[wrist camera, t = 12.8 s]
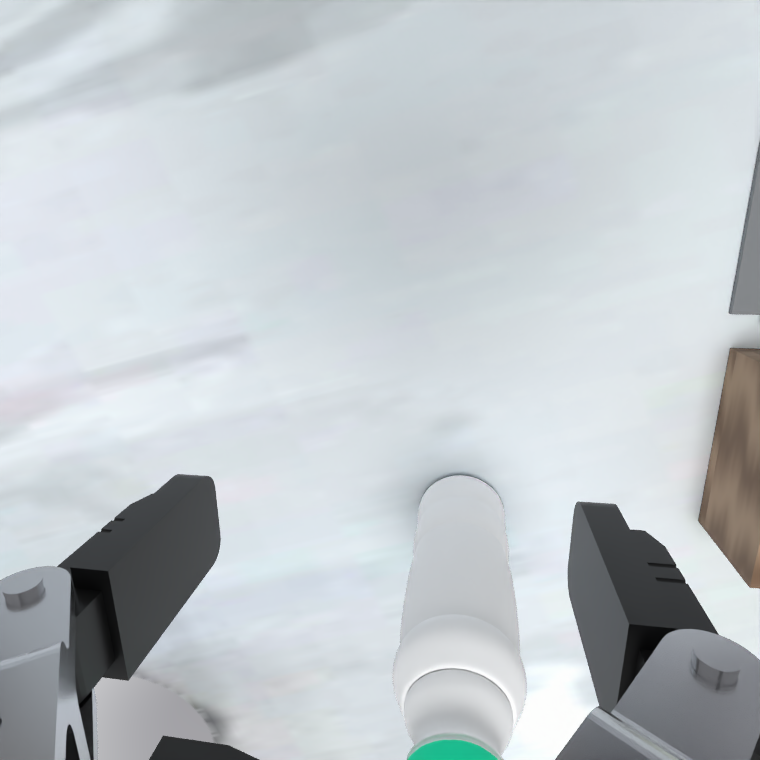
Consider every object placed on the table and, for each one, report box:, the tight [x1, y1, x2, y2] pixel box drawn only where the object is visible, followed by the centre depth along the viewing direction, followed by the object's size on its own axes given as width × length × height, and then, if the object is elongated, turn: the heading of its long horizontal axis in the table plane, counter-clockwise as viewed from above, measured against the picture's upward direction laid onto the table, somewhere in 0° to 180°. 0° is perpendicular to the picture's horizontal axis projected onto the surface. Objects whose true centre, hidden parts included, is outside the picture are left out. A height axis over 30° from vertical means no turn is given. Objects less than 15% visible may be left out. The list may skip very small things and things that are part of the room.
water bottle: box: [393, 475, 527, 760], centre depth 33 cm, size 7×7×25 cm
